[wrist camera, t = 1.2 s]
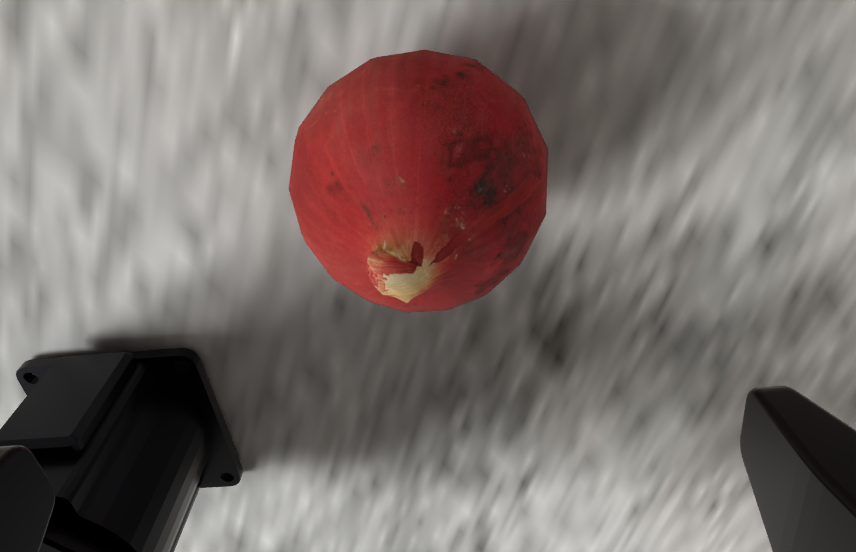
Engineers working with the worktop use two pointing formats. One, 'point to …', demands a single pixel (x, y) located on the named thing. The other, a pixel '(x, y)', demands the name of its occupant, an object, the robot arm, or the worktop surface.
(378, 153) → the onion
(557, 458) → the worktop surface
